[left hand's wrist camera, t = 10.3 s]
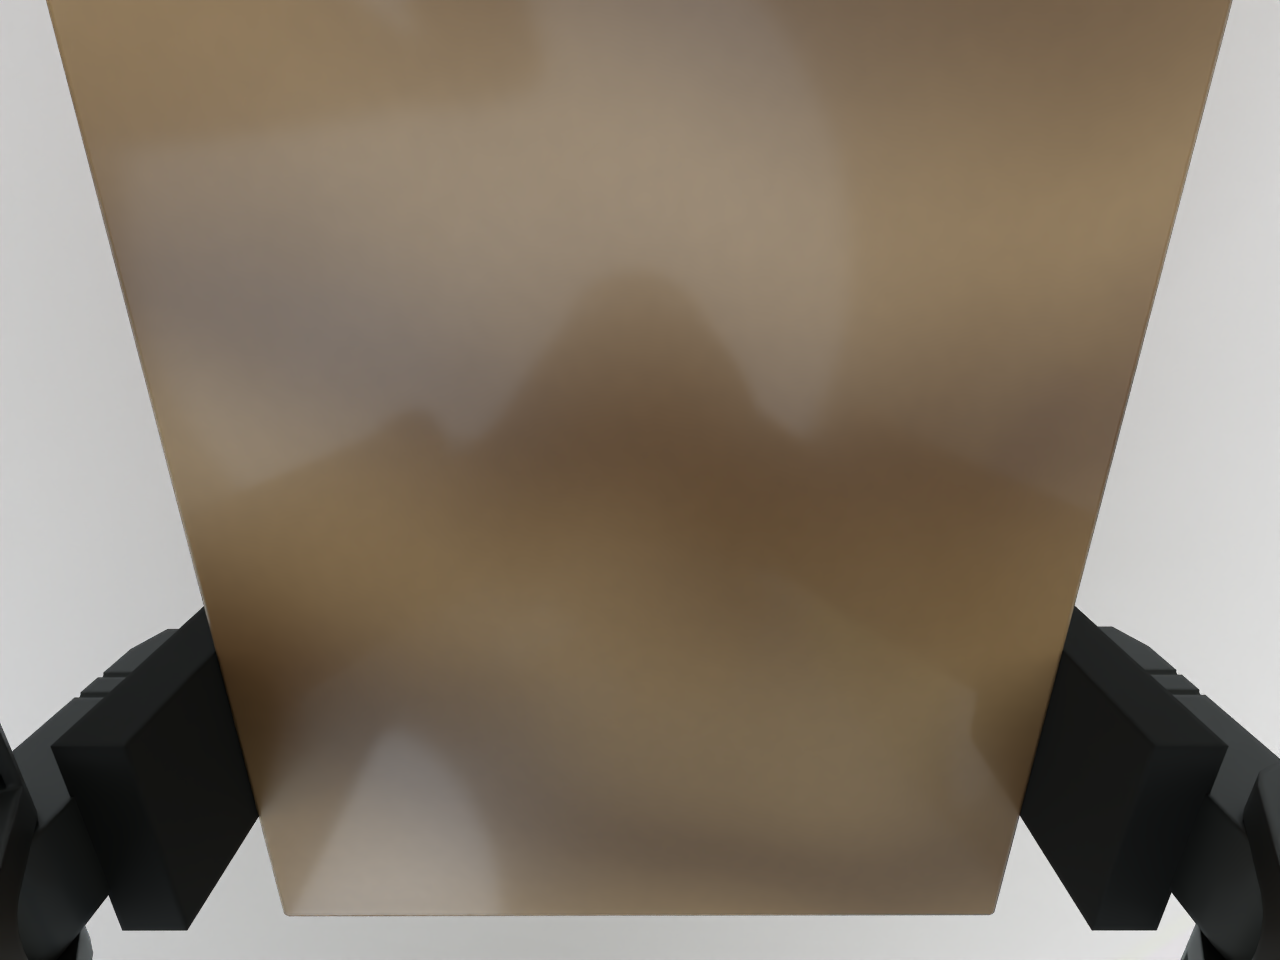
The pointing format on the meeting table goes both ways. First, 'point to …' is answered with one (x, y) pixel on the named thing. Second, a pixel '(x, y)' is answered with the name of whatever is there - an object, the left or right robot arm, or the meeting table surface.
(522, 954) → the meeting table surface
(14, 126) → the meeting table surface
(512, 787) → the cabinet
